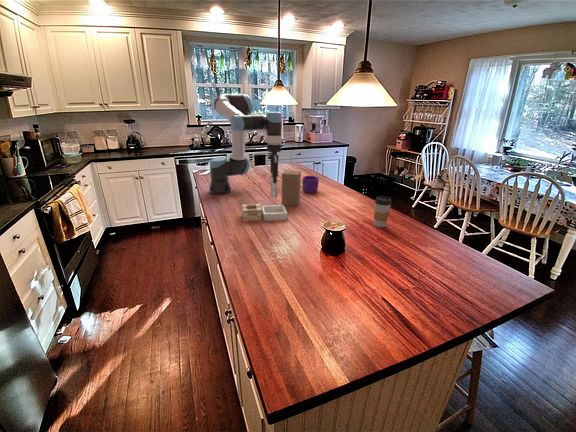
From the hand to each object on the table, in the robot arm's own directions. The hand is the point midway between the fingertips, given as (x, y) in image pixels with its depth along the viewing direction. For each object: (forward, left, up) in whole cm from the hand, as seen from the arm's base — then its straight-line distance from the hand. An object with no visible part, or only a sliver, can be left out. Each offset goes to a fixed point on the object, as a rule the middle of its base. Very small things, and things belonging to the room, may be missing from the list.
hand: (274, 187), depth 158 cm
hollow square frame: (0, -13, -17) cm, 21 cm away
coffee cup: (+20, +54, -17) cm, 60 cm away
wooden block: (-20, +13, -17) cm, 30 cm away
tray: (0, 0, -17) cm, 17 cm away
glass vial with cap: (0, 0, -5) cm, 5 cm away
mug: (-46, +31, -17) cm, 58 cm away
